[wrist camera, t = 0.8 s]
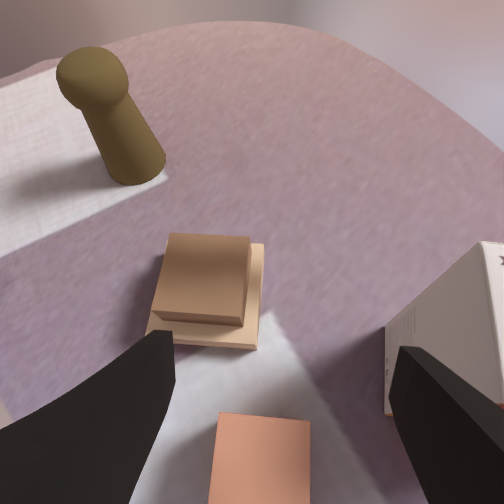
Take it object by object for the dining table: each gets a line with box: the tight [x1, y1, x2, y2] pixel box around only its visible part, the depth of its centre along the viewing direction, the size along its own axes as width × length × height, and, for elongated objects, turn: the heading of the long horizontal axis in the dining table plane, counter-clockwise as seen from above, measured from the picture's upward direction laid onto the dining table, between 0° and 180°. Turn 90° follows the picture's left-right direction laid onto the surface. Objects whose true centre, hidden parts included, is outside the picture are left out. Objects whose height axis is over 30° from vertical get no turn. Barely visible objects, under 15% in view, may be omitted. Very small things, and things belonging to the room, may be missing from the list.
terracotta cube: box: [208, 412, 310, 504], centre depth 19 cm, size 5×5×5 cm
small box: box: [384, 241, 504, 417], centre depth 17 cm, size 8×6×13 cm
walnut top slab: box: [151, 233, 252, 327], centre depth 24 cm, size 6×6×2 cm
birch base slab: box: [145, 241, 264, 350], centre depth 26 cm, size 8×8×2 cm
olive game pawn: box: [56, 47, 166, 185], centre depth 29 cm, size 6×6×11 cm
